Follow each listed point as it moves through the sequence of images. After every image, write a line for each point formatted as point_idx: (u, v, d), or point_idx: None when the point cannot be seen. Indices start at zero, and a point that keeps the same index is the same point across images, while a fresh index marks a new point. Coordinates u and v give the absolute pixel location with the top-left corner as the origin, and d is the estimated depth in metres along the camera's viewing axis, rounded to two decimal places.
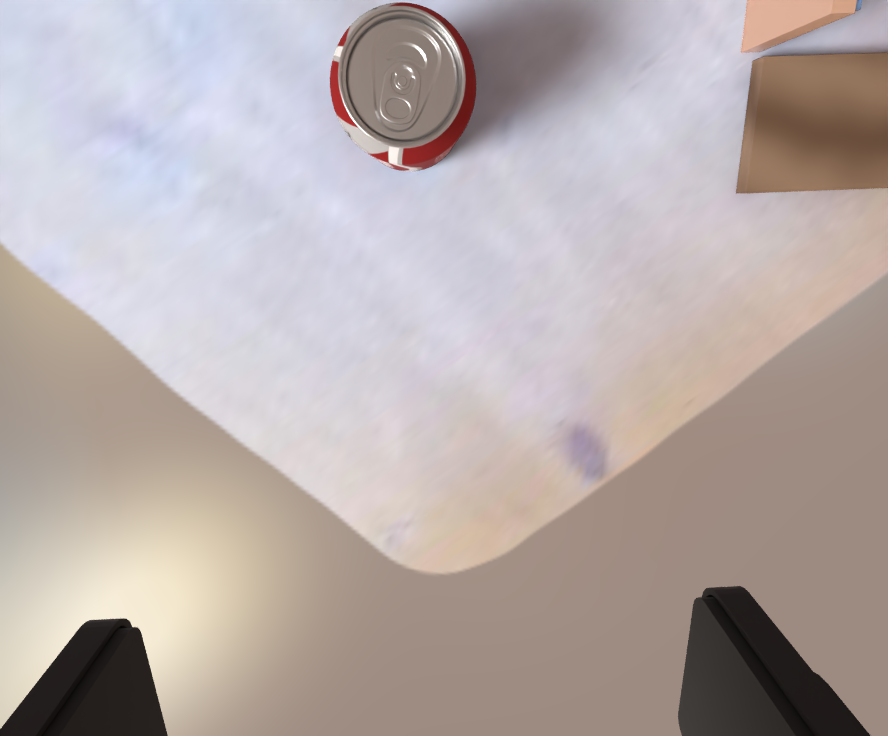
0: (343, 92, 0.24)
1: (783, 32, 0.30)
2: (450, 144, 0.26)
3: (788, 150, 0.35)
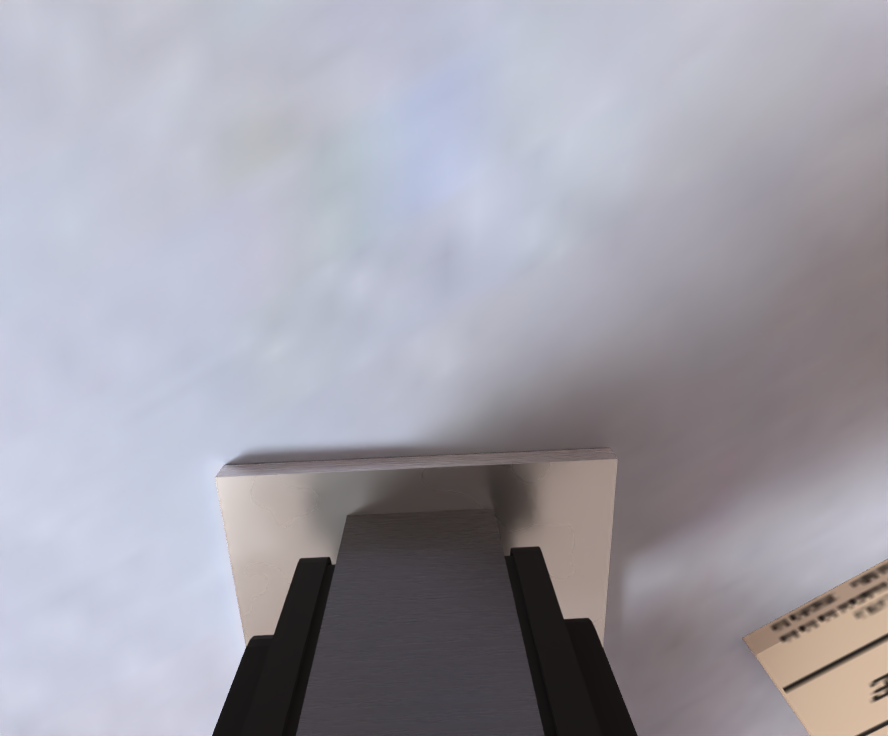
0: None
1: None
2: None
3: None
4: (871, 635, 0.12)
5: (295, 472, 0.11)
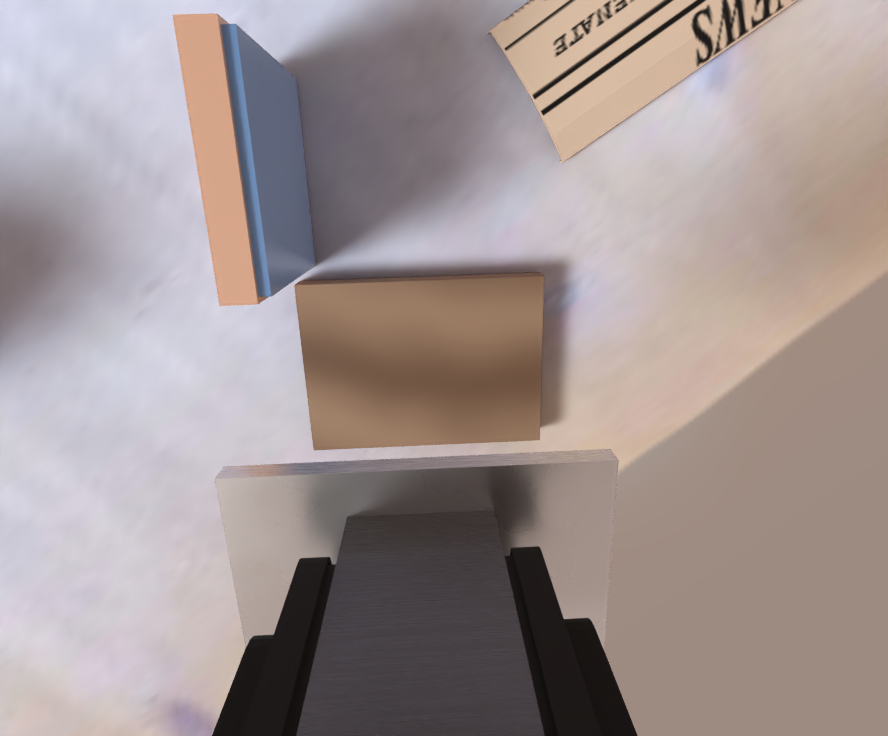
0: None
1: None
2: None
3: (360, 398, 0.26)
4: (552, 9, 0.21)
5: (296, 473, 0.11)
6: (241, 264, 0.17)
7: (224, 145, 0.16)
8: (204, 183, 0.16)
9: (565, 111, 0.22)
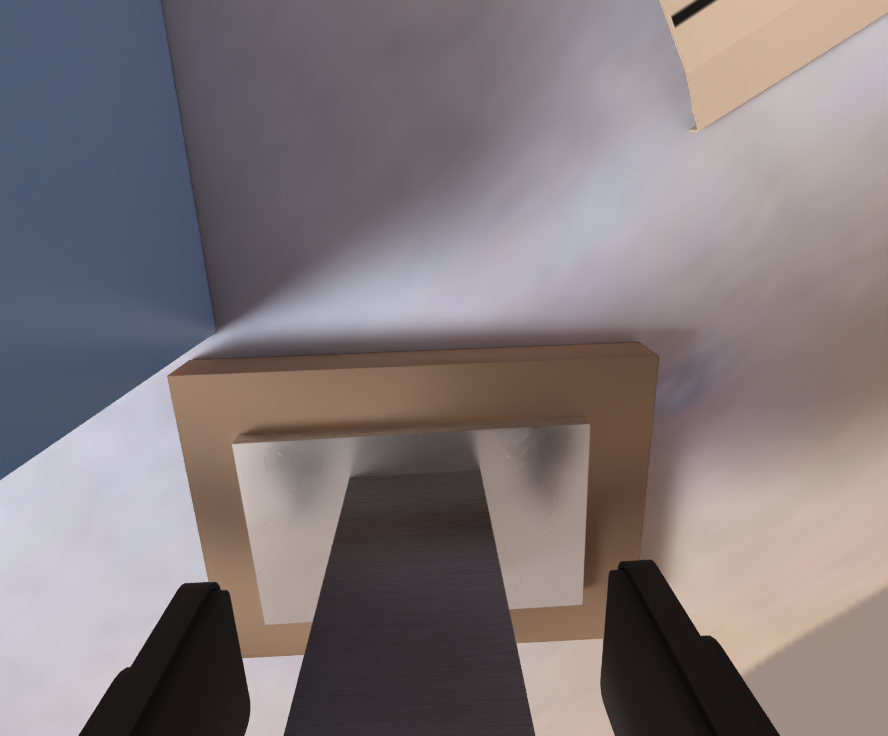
0: None
1: None
2: None
3: None
4: None
5: (303, 439, 0.12)
6: None
7: None
8: None
9: (722, 20, 0.11)
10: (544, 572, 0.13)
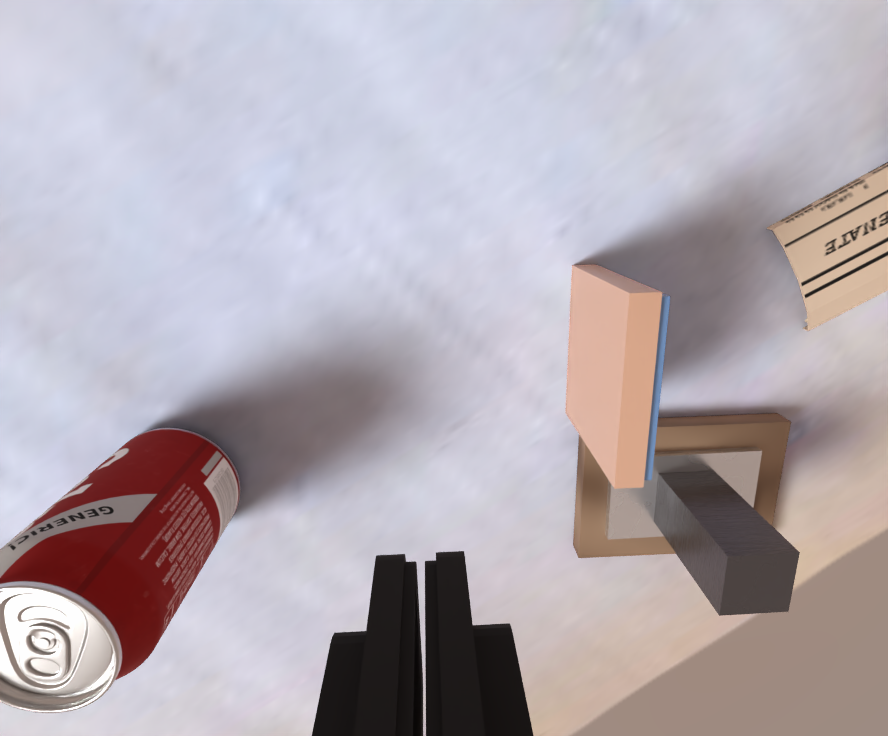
0: None
1: (587, 446, 0.26)
2: (136, 667, 0.21)
3: None
4: (827, 219, 0.26)
5: None
6: (638, 459, 0.22)
7: (645, 378, 0.21)
8: (624, 404, 0.21)
9: (823, 296, 0.27)
10: None
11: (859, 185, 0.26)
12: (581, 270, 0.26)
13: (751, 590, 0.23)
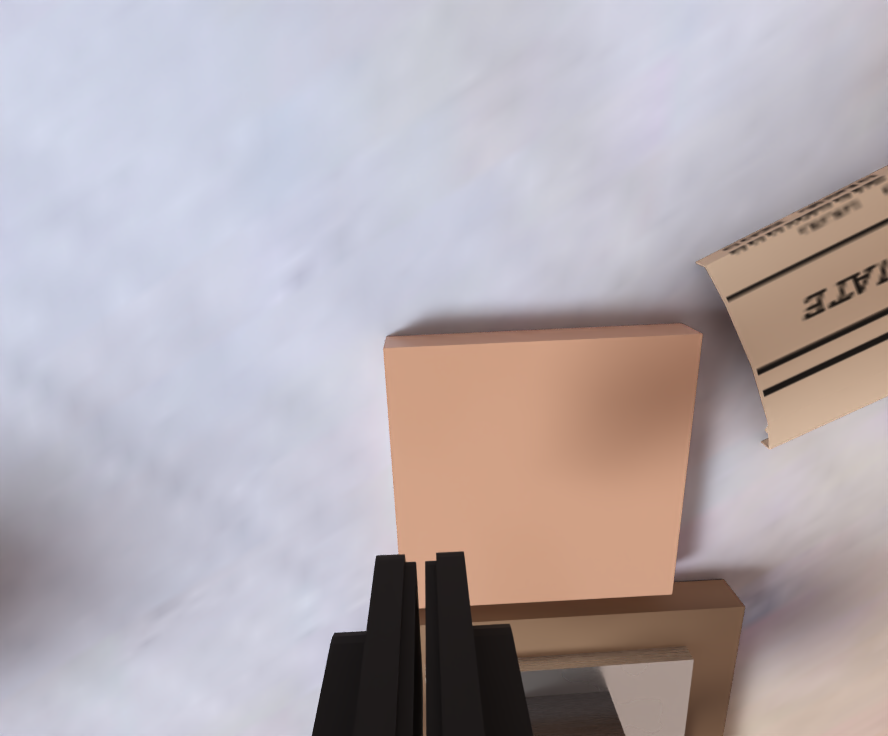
0: None
1: (548, 599, 0.16)
2: None
3: None
4: (811, 250, 0.13)
5: None
6: None
7: None
8: (682, 483, 0.15)
9: (798, 393, 0.14)
10: None
11: (874, 187, 0.13)
12: (452, 346, 0.13)
13: None
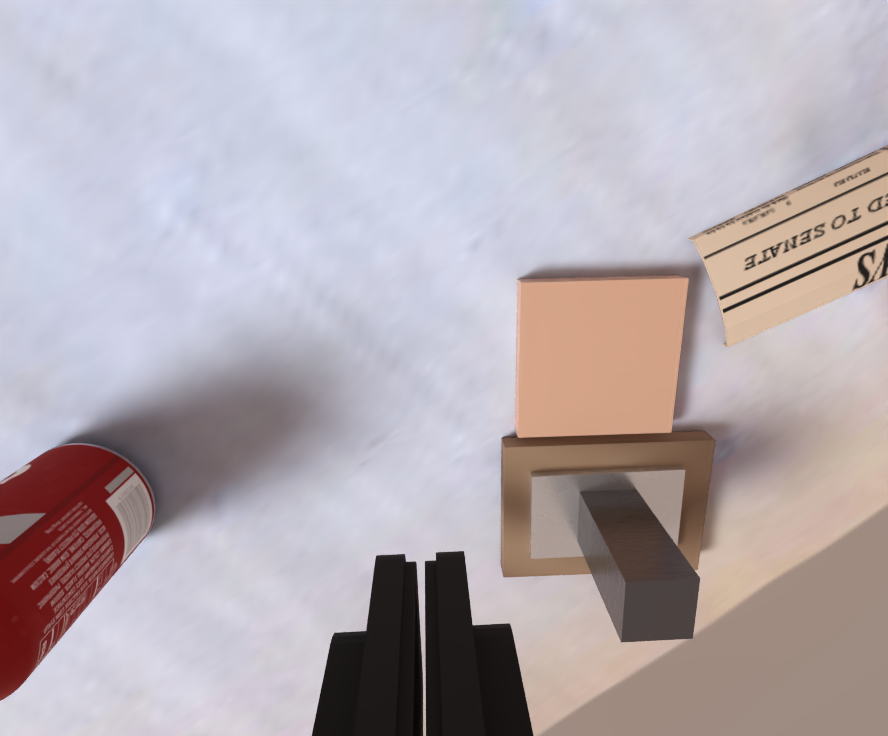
0: None
1: (600, 433, 0.28)
2: (11, 693, 0.21)
3: None
4: (748, 233, 0.26)
5: (561, 475, 0.28)
6: None
7: None
8: (677, 364, 0.27)
9: (742, 312, 0.27)
10: None
11: (782, 201, 0.25)
12: (557, 282, 0.26)
13: (652, 616, 0.22)
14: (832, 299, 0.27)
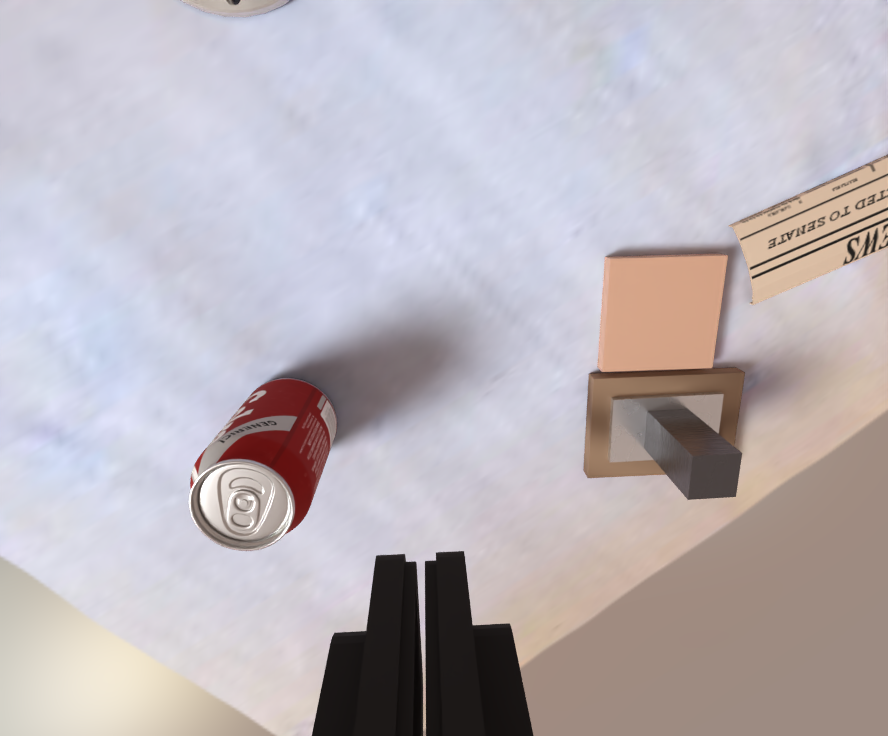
0: (195, 515, 0.29)
1: (661, 368, 0.39)
2: (293, 528, 0.31)
3: None
4: (772, 222, 0.36)
5: (634, 398, 0.39)
6: None
7: None
8: (718, 317, 0.38)
9: (765, 279, 0.37)
10: None
11: (796, 200, 0.36)
12: (635, 258, 0.36)
13: (709, 481, 0.33)
14: (828, 271, 0.38)
